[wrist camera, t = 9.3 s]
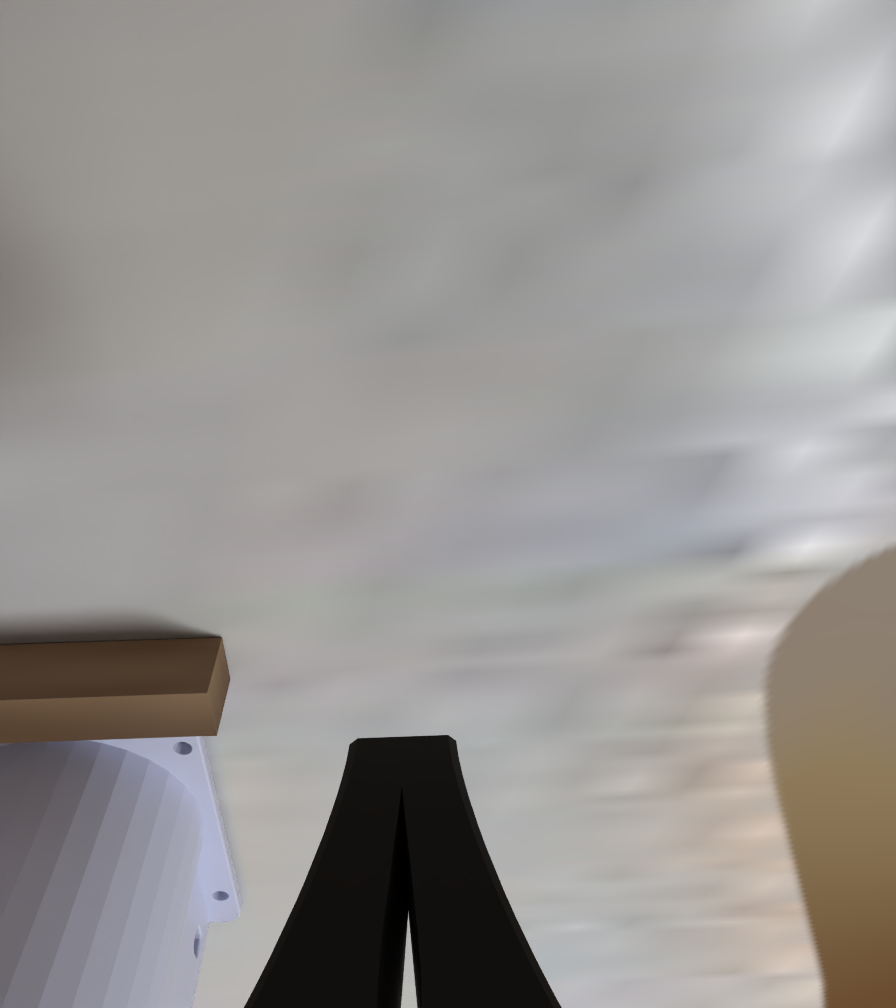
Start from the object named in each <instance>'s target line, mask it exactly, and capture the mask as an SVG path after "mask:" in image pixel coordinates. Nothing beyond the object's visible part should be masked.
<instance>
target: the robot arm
mask: <svg viewBox="0 0 896 1008" xmlns="http://www.w3.org/2000/svg"><path fill="white" fill-rule="evenodd" d="M181 742H186V743H188V744H185V743H181ZM241 907H242V901H241V897H240V893H239V888H238V884H237V880H236V875H235V871H234V867H233V863H232V858H231V854H230V850H229V846H228V841H227V837H226V833H225V829H224V824H223V820H222V816H221V812H220V807H219V803H218V799H217V794H216V790H215V786H214V782H213V777H212V773H211V769H210V765H209V760H208V756H207V752H206V748H205V743H204V739H203V736H193V737H165V738H138V739H110V740H83V741H55V742H28V743H0V1008H192V1007H193V1002H194V997H195V992H196V987H197V982H198V977H199V972H200V967H201V962H202V957H203V952H204V947H205V942H206V937H207V932H208V927H209V922H228V921H233V920H235V919H237V918H238V917H239V916H240V913H241ZM408 911H409V922H410V933H411V943H412V954H413V965H414V975H415V986H416V996H417V1007H418V1008H561V1006H560V1004H559V1002H558V1001H557V999H556V997H555V995H554V993H553V991H552V989H551V988H550V986H549V984H548V982H547V980H546V978H545V976H544V974H543V972H542V970H541V968H540V966H539V964H538V962H537V960H536V958H535V956H534V954H533V952H532V950H531V948H530V946H529V944H528V942H527V940H526V938H525V936H524V934H523V931H522V929H521V927H520V925H519V923H518V921H517V919H516V917H515V915H514V912H513V910H512V908H511V906H510V903H509V901H508V899H507V897H506V894H505V892H504V890H503V887H502V885H501V883H500V880H499V878H498V875H497V873H496V870H495V868H494V865H493V863H492V860H491V858H490V856H489V853H488V851H487V848H486V846H485V843H484V840H483V838H482V835H481V832H480V830H479V827H478V824H477V821H476V818H475V815H474V812H473V809H472V806H471V803H470V800H469V796H468V793H467V789H466V786H465V782H464V779H463V775H462V771H461V766H460V762H459V757H458V751H457V744H456V741H455V740H454V739H453V738H451V737H450V736H449V735H438V736H411V737H383V738H358V739H356V740H355V741H354V742H352V743H351V744H350V746H349V751H348V756H347V761H346V765H345V769H344V773H343V777H342V780H341V784H340V787H339V791H338V794H337V797H336V800H335V803H334V806H333V809H332V812H331V815H330V818H329V821H328V823H327V826H326V829H325V832H324V835H323V837H322V840H321V842H320V845H319V847H318V850H317V852H316V855H315V857H314V860H313V862H312V865H311V867H310V870H309V872H308V875H307V877H306V880H305V882H304V885H303V887H302V889H301V892H300V894H299V896H298V899H297V901H296V903H295V905H294V907H293V909H292V911H291V914H290V916H289V918H288V920H287V922H286V924H285V926H284V929H283V931H282V933H281V935H280V937H279V939H278V941H277V944H276V946H275V948H274V950H273V952H272V954H271V956H270V958H269V960H268V962H267V964H266V966H265V968H264V970H263V972H262V974H261V976H260V978H259V980H258V982H257V984H256V986H255V988H254V990H253V992H252V993H251V995H250V997H249V999H248V1001H247V1003H246V1005H245V1007H244V1008H401V998H402V985H403V972H404V959H405V947H406V934H407V920H408Z"/></svg>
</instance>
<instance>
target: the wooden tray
mask: <svg viewBox="0 0 896 1008" xmlns="http://www.w3.org/2000/svg"><path fill="white" fill-rule="evenodd" d="M229 682H230V676H229V670H228V665H227V660H226V655H225V650H224V645H223V640H222V638H195V639H164V640H134V641H103V642H72V643H41V644H11V645H0V743H28V742H55V741H83V740H110V739H138V738H165V737H193V736H217V732H218V728H219V724H220V720H221V715H222V711H223V707H224V703H225V699H226V695H227V690H228V686H229Z"/></svg>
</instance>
